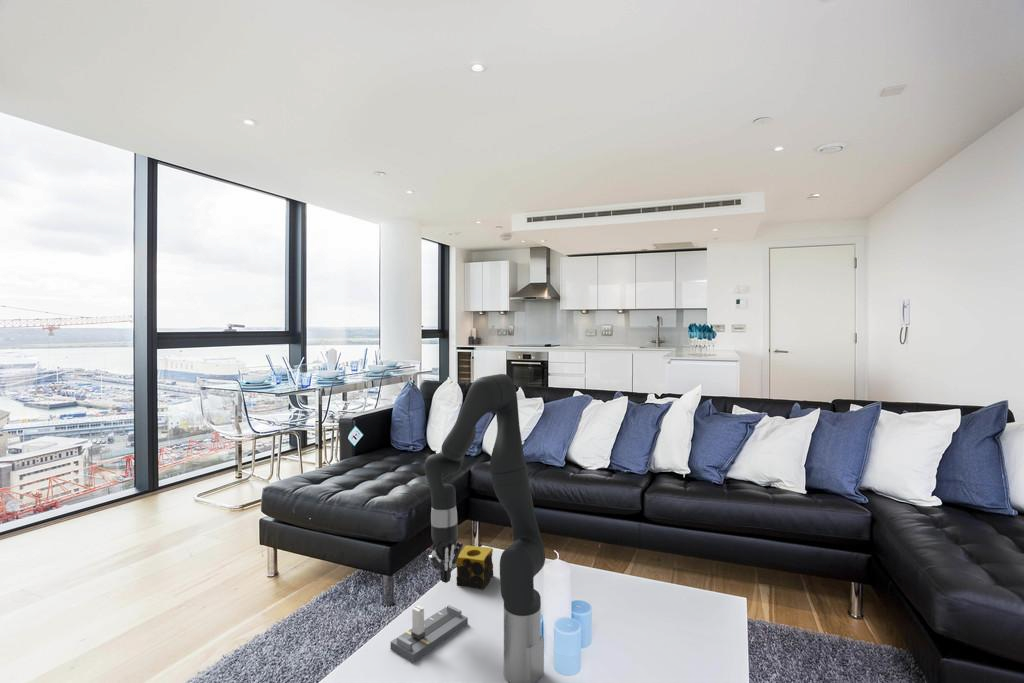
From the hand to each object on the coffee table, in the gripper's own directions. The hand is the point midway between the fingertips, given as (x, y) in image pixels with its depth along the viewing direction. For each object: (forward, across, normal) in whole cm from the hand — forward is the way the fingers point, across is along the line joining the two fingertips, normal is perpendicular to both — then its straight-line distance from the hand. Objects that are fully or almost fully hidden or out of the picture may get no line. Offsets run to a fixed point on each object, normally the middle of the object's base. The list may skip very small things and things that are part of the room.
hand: (445, 581), depth 146 cm
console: (+13, -6, +1) cm, 15 cm away
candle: (+14, +25, +11) cm, 31 cm away
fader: (+11, -10, 0) cm, 15 cm away
